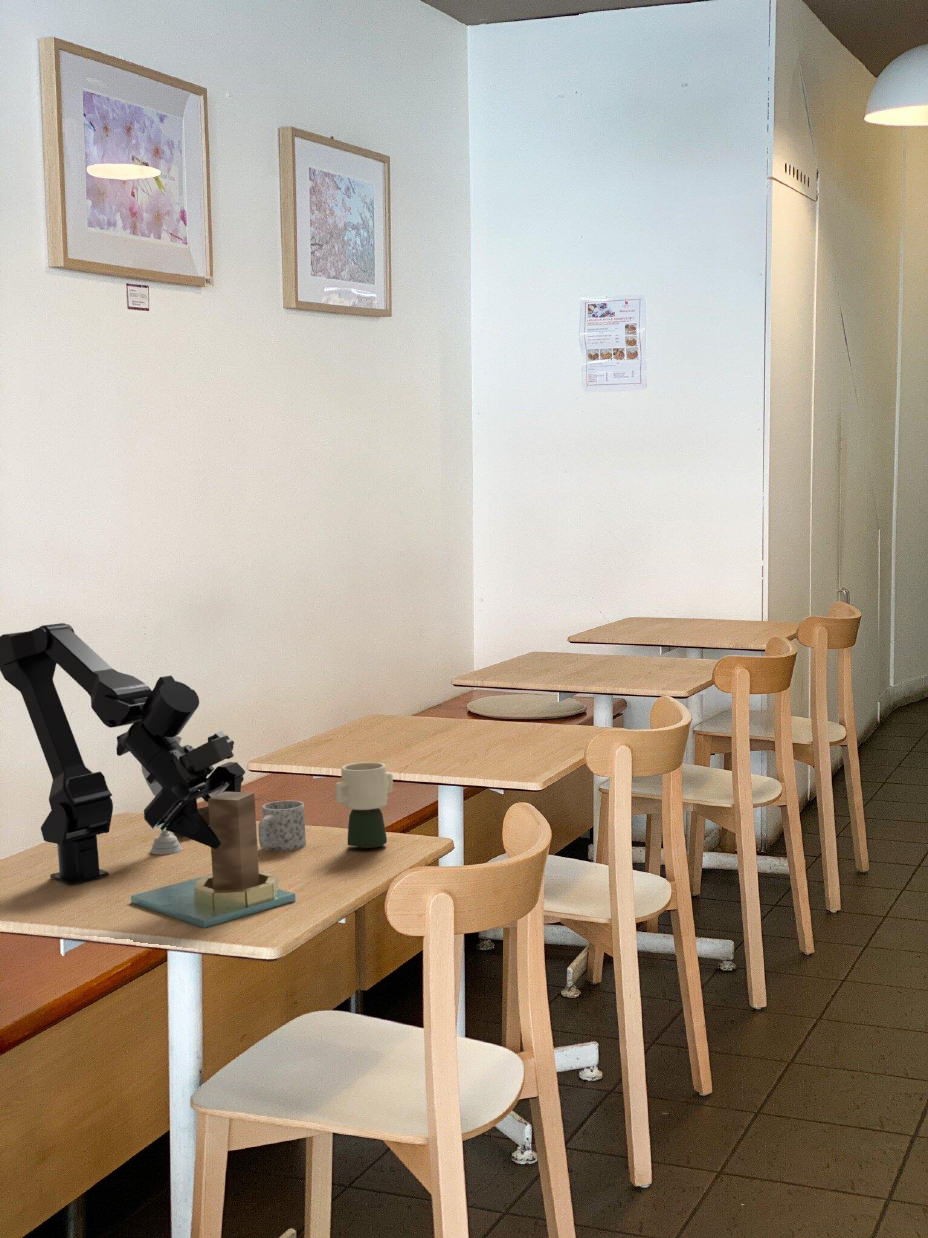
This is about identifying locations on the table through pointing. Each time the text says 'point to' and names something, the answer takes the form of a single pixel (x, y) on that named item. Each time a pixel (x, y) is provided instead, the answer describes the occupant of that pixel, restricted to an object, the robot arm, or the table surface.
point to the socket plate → (213, 900)
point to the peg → (234, 841)
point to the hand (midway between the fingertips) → (235, 838)
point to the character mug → (365, 801)
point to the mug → (282, 826)
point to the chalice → (165, 841)
